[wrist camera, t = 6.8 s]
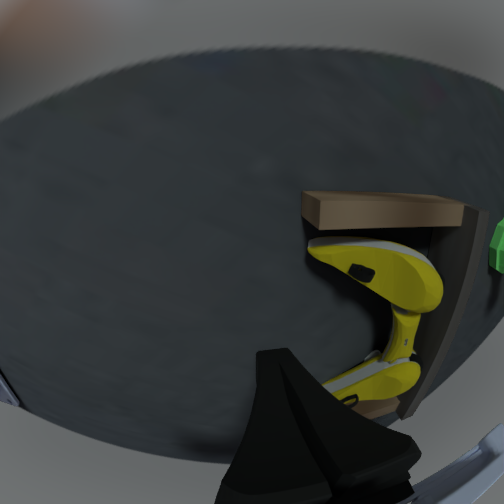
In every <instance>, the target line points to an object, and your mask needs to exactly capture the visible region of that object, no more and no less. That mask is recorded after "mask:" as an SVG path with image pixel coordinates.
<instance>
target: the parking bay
mask: <svg viewBox="0 0 504 504" xmlns="http://www.w3.org/2000/svg"><path fill="white" fill-rule="evenodd" d="M489 213H490V212H489V211H487V210H484V209H482V208H479V207H476V206H474V205H471V204H468V203H465V202H463V201H460V200H457V199H454V198H451V197H446V196H434V195H421V194H405V193H385V192H356V191H302V211H301V216H302V217H304V218H305V219H306V220H307V221H309V222H310V223H311V224H312V225H313V226H315V227H316V228H317V229H318V230H333V229H360V228H392V227H433V230H432V236H431V242H430V247H429V252H428V257H427V259H428V260H429V261H430V262H431V264H432V265H433V267H435V268H437V269H438V270H439V271H440V272H441V273H442V275H443V276H444V278H445V288H444V290H443V296H442V299H441V302H440V303H439V305H438V306H437V307H436V308H435V309H434V310H432V311H430V312H425V313H421V317H420V321H419V324H418V327H417V331H416V334H415V337H414V343H413V350H414V351H415V352H416V354H417V355H419V356H420V357H421V358H422V360H423V369H422V371H421V373H420V377H419V379H418V380H417V382H416V383H415V385H414V386H412V387H411V388H410V389H409V390H407V391H405V392H404V393H402V394H399V395H397V396H395V397H392V398H388V399H382V400H361V401H359V402H358V403H357V405H356V406H354V407H352V408H351V409H353V410H354V411H356V412H357V413H359V414H361V415H362V416H364V417H366V418H368V419H373V418H376V417H379V416H382V415H385V414H387V413H390V412H393V411H396V413H397V414H398V416H399V417H400V419H401V420H404V419H406V418H408V417H411V416H412V415H413V414H414V412H415V411H416V409H417V408H418V406H419V404H420V403H421V401H422V399H423V398H424V396H425V394H426V392H427V391H428V389H429V387H430V385H431V384H432V382H433V380H434V378H435V376H436V374H437V372H438V370H439V368H440V366H441V364H442V362H443V360H444V358H445V356H446V354H447V352H448V349H449V347H450V345H451V343H452V340H453V338H454V336H455V333H456V331H457V328H458V326H459V323H460V321H461V318H462V316H463V313H464V310H465V307H466V305H467V302H468V299H469V296H470V293H471V289H472V286H473V283H474V280H475V276H476V273H477V269H478V265H479V261H480V257H481V253H482V249H483V245H484V240H485V235H486V230H487V225H488V219H489ZM352 403H354V402H351V403H346V404H345V405H350V404H352Z"/></svg>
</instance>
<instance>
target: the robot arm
mask: <svg viewBox="0 0 504 504" xmlns="http://www.w3.org/2000/svg"><path fill="white" fill-rule="evenodd" d="M256 383H257V388H256V393H255V398H254V403H253V408H252V412H251V415H250V419H249V422H248V425H247V428H246V431H245V434H244V436H243V439H242V441H241V444H240V446H239V448H238V450H237V453H236V455H235V457H234V459H233V461H232V463H231V465H230V467H229V469H228V470H227V472H226V474H225V476H224V477H223V479H222V481H221V485H220V488H219V491H218V493H217V496H216V499H215V503H214V504H407V503H409V502H411V501H412V502H411V504H472V503H473V502H474V501H475V500H477V498H479V497H480V496H481V495H482V494H483V493H484V492H485V491H486V490H487V489H488V488H489V487H490V486H491V485H492V484H494V483H495V481H496V480H497V479H498V478H499V477H500V476H501V475H502V474H503V473H504V426H503V425H502V423H500V424H498V425H497V426H496V427H495V428H494V429H493V430H491V431H490V432H489V433H488V434H487V435H486V436H485V437H484V438H483V439H482V440H481V441H480V442H479V443H478V445H476V446H475V447H474V448H472V449H471V450H470V451H468V452H467V453H465V454H464V455H463V456H461V457H460V458H458V459H457V460H455V461H454V462H452V463H451V464H450V465H448V466H446V467H445V468H443V469H441V470H440V471H438V472H437V473H435V474H433V475H431V476H430V477H428V478H426V479H424V480H423V481H421V482H419V483H417V484H415V485H413V486H411V484H410V482H409V480H408V479H410V478H411V476H410V474H409V472H408V470H409V469H410V468H411V467H412V466H413V465H414V464H415V463H416V462H417V461H418V460H419V459H420V457H421V454H422V453H421V451H420V450H419V448H418V446H417V444H416V443H415V441H414V440H413V439H412V437H411V436H409V435H406V434H403V433H400V432H397V431H394V430H391V429H389V428H386V427H384V426H382V425H380V424H377V423H375V422H373V421H372V420H370V419H368V418H366V417H364V416H362V415H361V414H359V413H357V412H356V411H354V410H353V409H351V408H350V407H348V406H347V405H345V404H344V403H342V402H341V401H340V400H338V399H337V398H336V397H335V396H333V395H332V394H331V393H330V392H329V391H328V390H326V389H325V388H324V387H323V386H322V385H321V384H320V383H319V382H318V381H317V380H316V379H315V378H314V377H313V376H312V375H311V374H310V373H309V372H308V371H307V370H306V369H305V368H304V367H303V365H302V364H301V363H300V362H299V361H298V360H297V358H296V357H295V356H294V355H293V353H292V352H291V351H290V350H289V349H288V348H280V349H272V350H263V351H258V352H257V353H256ZM0 401H2V402H5V403H8V404H11V405H14V406H18V405H19V400H18V399H17V398H16V396H15V395H14V393H13V392H12V390H11V389H10V388H9V386H8V385H7V383H6V381H5V380H4V378H3V377H2V375H1V374H0Z"/></svg>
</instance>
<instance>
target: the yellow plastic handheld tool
mask: <svg viewBox="0 0 504 504" xmlns="http://www.w3.org/2000/svg"><path fill="white" fill-rule="evenodd" d="M307 250H308V252H309V253H310V254H311V255H312V256H313V257H314V258H316V259H318V260H320V261H322V262H325V263H327V264H330V265H332V266H334V267H335V268H337V269H339V270H340V271H342V272H344V273H345V274H347V275H349V276H350V277H352V278H354V279H355V280H357V281H359V282H360V283H362V284H363V285H365V286H367V287H368V288H370V289H371V290H373V291H374V292H376V293H378V294H379V295H381V296H382V297H384V298H385V299H387V300H389V301H390V302H391V308H392V313H393V327H392V333H391V336H390V339H389V342H388V344H387V346H386V348H385V350H384V351H383V353H382V354H381V352H380V351H379V350H374V351H372V352H371V353H370V354H369V355H368V356H367V357H366V358H365V360H364V363H362V364H360V365H358V366H356V367H354V368H352V369H350V370H348V371H346V372H344V373H342V374H340V375H338V376H336V377H334V378H332V379H331V380H329V381H327V382H325V383H324V384H322V386H323V387H324V388H325V389H326V390H328V391H329V392H330V393H331V394H332V395H333V396H335V397H336V398H337V399H338V400H340V401H341V402H342V403H344V404H346V403H351V402H354V403H352V404H350V405H347V406H348V407H350V408H352V407H354V406H356V405H357V403H358V402H359V401H361V400H382V399H388V398H392V397H395V396H397V395H399V394H402V393H404V392H405V391H407V390H409V389H410V388H411V387H412V386H414V385H415V383H416V382H417V380H418V379H419V377H420V373H421V371H422V369H423V360H422V358H421V357H420V356H419V355H417V354H416V352H415V351H414V350H413V343H414V337H415V334H416V331H417V327H418V324H419V321H420V317H421V313H425V312H430V311H432V310H434V309H435V308H436V307H437V306H438V305H439V303H440V302H441V299H442V296H443V290H444V288H445V278H444V276H443V275H442V273H441V272H440V271H439V270H438V269H437V268H435V267H433V265H432V264H431V262H430V261H429V260H428V259H427V258H426V257H425V256H424V255H423V254H421V253H419V252H417V251H416V250H413V249H411V248H409V247H407V246H404V245H401V244H398V243H395V242H391V241H386V240H380V239H373V238H367V237H354V236H325V237H317V238H314V239H311V240H309V242H308V249H307Z"/></svg>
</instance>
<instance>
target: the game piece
mask: <svg viewBox="0 0 504 504" xmlns="http://www.w3.org/2000/svg"><path fill="white" fill-rule="evenodd" d="M489 265H490V266H491V267H493V268H494V269H496V270H497V271H499V272H501V273H502V274H503V273H504V219H503V220H502V221H501V222H499V223H498V224H497V227H496V230H495V233H494V235H493V238H492V241H491V243H490V246H489Z"/></svg>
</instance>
